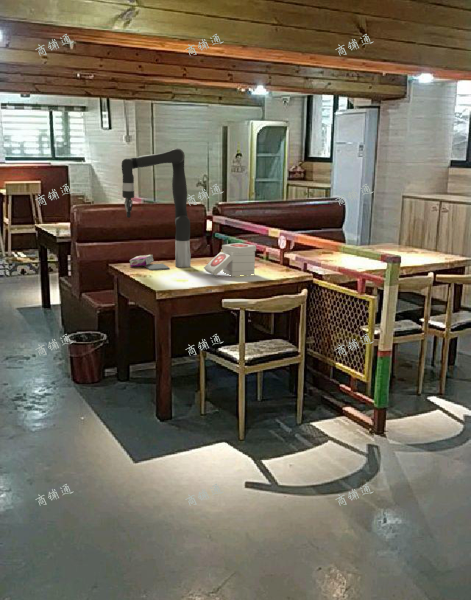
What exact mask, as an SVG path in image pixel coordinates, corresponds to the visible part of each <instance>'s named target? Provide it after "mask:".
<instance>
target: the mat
mask: <svg viewBox="0 0 471 600" xmlns="http://www.w3.org/2000/svg"><path fill="white" fill-rule="evenodd" d="M143 267H144V268H146V269H147V270H148V271H165V270H166V271H167V270H170V269H171V267H169V266H168V265H166V264H164V263H150V264H148V265H145V266H143Z"/></svg>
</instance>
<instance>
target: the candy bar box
mask: <svg viewBox="0 0 471 600" xmlns="http://www.w3.org/2000/svg"><path fill="white" fill-rule="evenodd" d="M153 262H154V256H153V254H144V255H137V256H135V257H133V258H131V259H129V266H130V268H136V267H144V266H145V265H148V264H152V263H153Z"/></svg>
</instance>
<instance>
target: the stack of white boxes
mask: <svg viewBox="0 0 471 600" xmlns="http://www.w3.org/2000/svg"><path fill="white" fill-rule="evenodd" d="M256 251H257V245H254V244H248V243H242V242H237V243H229V244H222V245H221V251H220V252H219V253H218V254H217V255H215V256H214V257H213V258H212V259H211V260H210V261H209V262H208V263H207V264H206V265H204V267H203V269H204V270H205V271H206V272H207V273H209V274H210V275H213V276H215V277H216V276H217V275H218V274H219V273H220V272H221V271H222V273H223V272H224V273H223V274H225V273H226V274H225V275H227V274H229V275H231V276H240V275H251V274H254V275H255V264H256V263H255V262H256V260H255V259H256ZM229 275H228V276H229ZM231 276H230V277H231Z"/></svg>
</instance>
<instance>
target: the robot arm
mask: <svg viewBox="0 0 471 600" xmlns="http://www.w3.org/2000/svg"><path fill="white" fill-rule="evenodd" d="M185 158H186V157H185V152H184V151H183V150H182V149H181V148H173V149H171V150H169V151H165V152H161V153H154V154H145V155H140V156H137V157H136V156H135V157H129V158H123V160H122V162H121V173H122V186H121V188H122V191H121V192H122V196H121V197H122V198H123V199H125V200H124V202H123V203H124V208H125V211H126V218H127V219H129V218H131V217H132V216H131V213H132V210H133V200H132V199H135V180H134V178H135V176H134V174H133V172H134V171H133V170H134V169H138V168H139V169H140V168H145V167H146V168H147V167H152V166H157V165H161V164H172V181H171V182H172V183H171V189H172V197H173V205H174V211H175V213H174V224H175V237H174V238H175V242H174V243H175V244H174V245H175V247H174V249H175V256H174V257H175V262H174V263H175V267H177V268H190V267H191V251H190V250H191V249H190V245H191V244H190V243H191V242H190V241H191V239H190V238H191V220H190V218H189V217H188V211H187V203H188V186H187V178H186V173H185Z"/></svg>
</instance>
